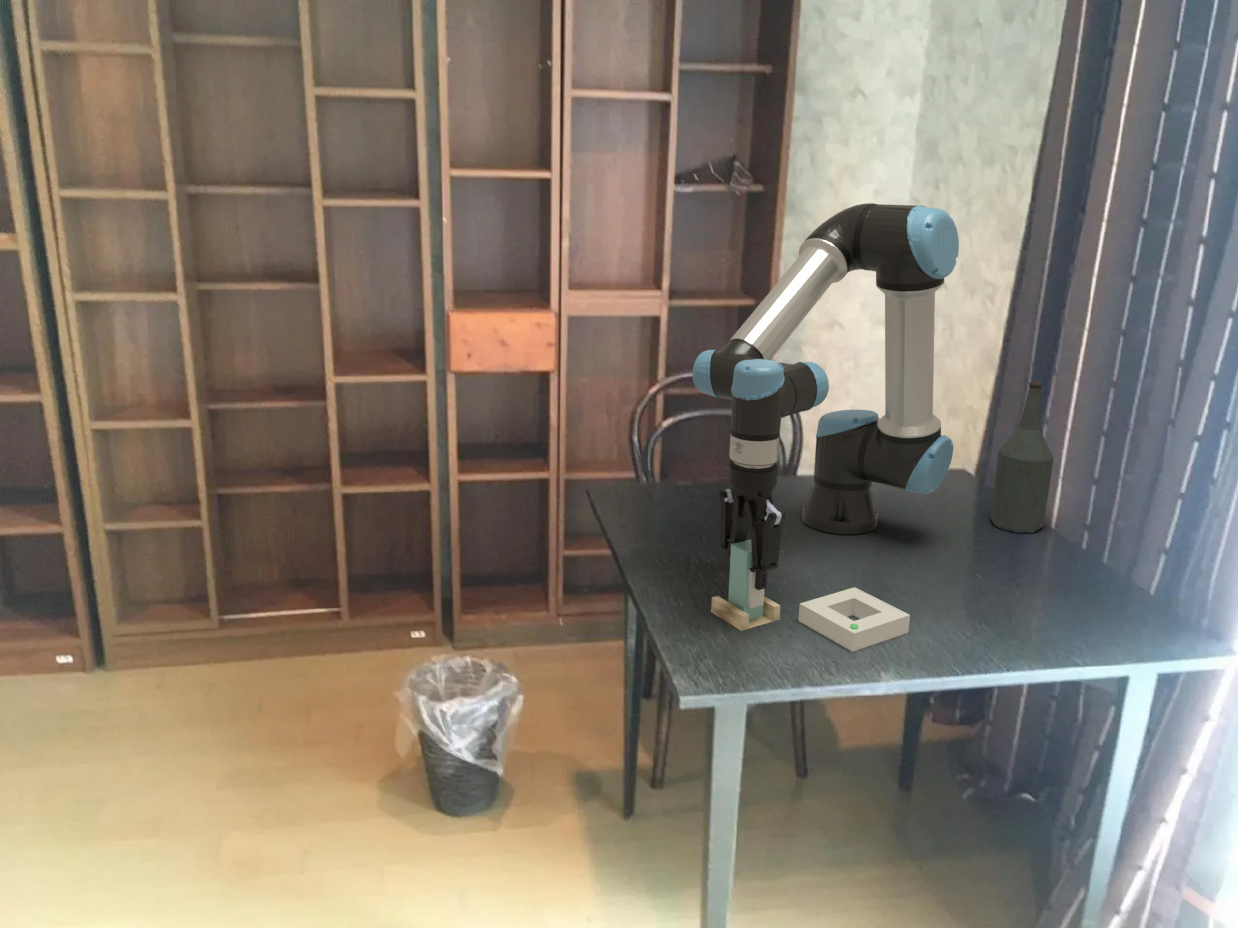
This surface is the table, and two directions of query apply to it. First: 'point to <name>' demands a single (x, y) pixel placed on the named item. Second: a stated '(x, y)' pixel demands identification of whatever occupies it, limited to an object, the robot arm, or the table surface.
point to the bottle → (1023, 472)
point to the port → (834, 623)
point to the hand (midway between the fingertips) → (745, 599)
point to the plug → (742, 578)
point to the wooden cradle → (744, 613)
